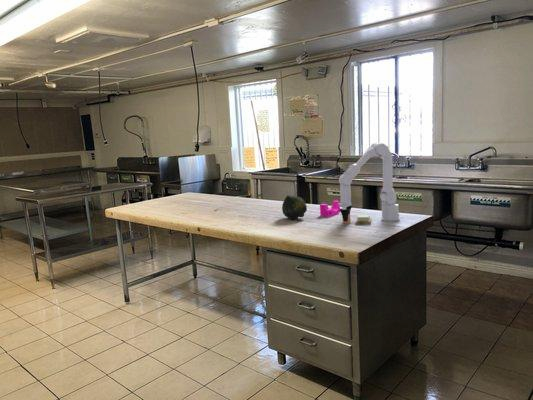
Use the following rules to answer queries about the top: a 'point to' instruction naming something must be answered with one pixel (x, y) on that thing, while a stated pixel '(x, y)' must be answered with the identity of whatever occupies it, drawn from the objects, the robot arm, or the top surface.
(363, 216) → the tower top
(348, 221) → the terracotta cylinder
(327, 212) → the toy block
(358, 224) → the tower base
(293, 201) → the squash
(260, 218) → the top surface
